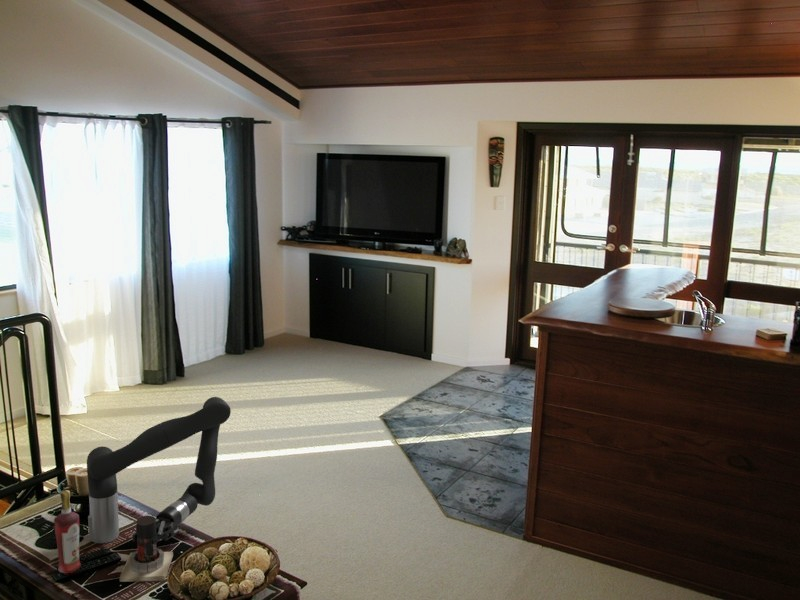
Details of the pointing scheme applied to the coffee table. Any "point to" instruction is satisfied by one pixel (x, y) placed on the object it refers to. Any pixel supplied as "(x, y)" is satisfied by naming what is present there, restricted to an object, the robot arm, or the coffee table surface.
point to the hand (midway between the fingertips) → (142, 540)
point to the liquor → (67, 536)
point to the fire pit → (146, 568)
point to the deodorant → (146, 539)
